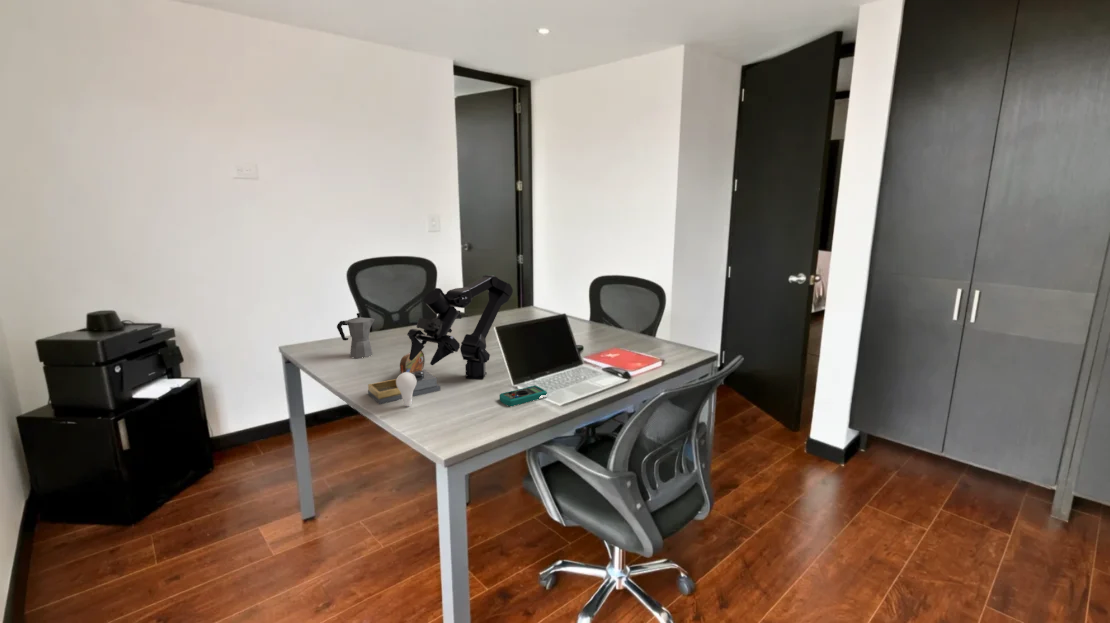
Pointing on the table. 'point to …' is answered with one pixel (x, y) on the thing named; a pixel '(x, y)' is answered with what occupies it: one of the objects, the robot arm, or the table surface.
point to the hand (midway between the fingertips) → (420, 362)
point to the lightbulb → (406, 386)
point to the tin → (412, 363)
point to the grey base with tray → (390, 391)
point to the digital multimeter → (522, 395)
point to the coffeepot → (358, 335)
